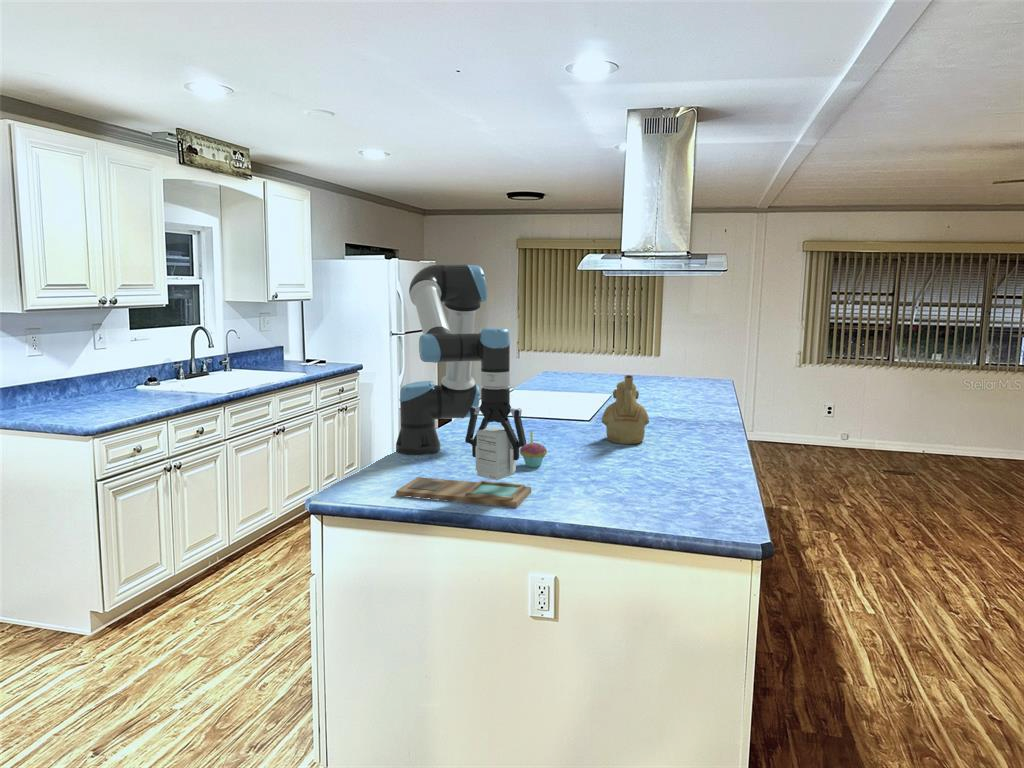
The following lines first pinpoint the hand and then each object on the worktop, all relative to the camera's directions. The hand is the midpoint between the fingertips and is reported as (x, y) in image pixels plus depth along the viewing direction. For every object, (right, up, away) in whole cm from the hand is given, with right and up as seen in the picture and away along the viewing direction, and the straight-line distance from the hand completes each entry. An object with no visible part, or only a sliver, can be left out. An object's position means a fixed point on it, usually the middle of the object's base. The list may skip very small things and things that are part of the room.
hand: (495, 470), depth 189 cm
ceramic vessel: (+45, +2, +68) cm, 82 cm away
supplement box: (0, -2, 0) cm, 2 cm away
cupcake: (+11, -3, +34) cm, 36 cm away
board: (-9, -7, +4) cm, 12 cm away
